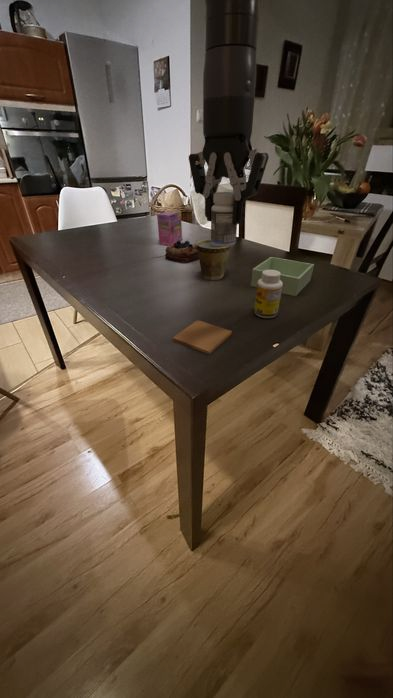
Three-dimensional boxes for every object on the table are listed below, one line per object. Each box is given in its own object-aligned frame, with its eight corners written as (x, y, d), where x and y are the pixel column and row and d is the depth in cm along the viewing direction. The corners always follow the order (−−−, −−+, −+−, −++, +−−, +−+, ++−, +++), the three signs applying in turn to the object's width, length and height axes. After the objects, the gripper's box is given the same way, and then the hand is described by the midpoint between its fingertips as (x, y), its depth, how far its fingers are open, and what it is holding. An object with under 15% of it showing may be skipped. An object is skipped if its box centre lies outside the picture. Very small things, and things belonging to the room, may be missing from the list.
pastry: (186, 264, 97) (185, 247, 94) (161, 258, 103) (159, 242, 100) (205, 256, 104) (205, 240, 101) (180, 251, 110) (179, 235, 107)
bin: (310, 280, 84) (314, 264, 81) (295, 296, 75) (299, 278, 72) (268, 272, 90) (270, 256, 87) (250, 286, 82) (252, 269, 79)
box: (171, 246, 116) (168, 214, 110) (159, 244, 118) (156, 214, 112) (182, 240, 124) (181, 210, 117) (171, 238, 126) (169, 209, 119)
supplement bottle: (251, 308, 70) (256, 268, 64) (274, 308, 70) (280, 267, 64) (256, 319, 65) (261, 277, 60) (280, 319, 66) (287, 276, 60)
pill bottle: (212, 239, 55) (212, 191, 51) (236, 240, 55) (239, 191, 50) (209, 246, 52) (209, 194, 47) (235, 247, 51) (238, 194, 46)
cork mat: (231, 334, 61) (232, 331, 60) (209, 355, 55) (209, 351, 54) (197, 322, 65) (197, 319, 64) (173, 340, 59) (172, 337, 58)
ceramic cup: (232, 280, 85) (235, 246, 79) (200, 283, 83) (200, 249, 78) (220, 266, 95) (222, 235, 90) (192, 269, 94) (191, 237, 88)
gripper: (285, 94, 40) (269, 222, 50) (202, 103, 47) (203, 214, 57) (263, 87, 35) (250, 231, 45) (174, 98, 42) (180, 221, 52)
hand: (223, 221), depth 51 cm, fingers closed on pill bottle, 4 cm apart
